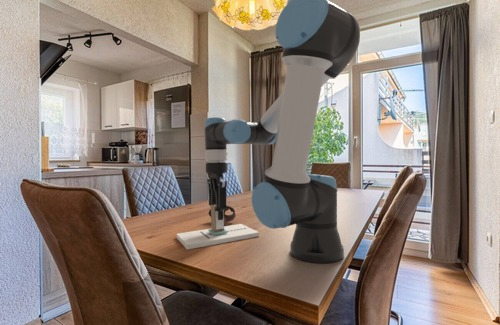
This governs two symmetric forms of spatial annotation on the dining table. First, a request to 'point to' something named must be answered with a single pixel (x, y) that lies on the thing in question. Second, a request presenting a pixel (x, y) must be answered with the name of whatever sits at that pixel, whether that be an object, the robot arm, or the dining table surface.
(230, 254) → the dining table surface
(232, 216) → the dark brown looped ring
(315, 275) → the dining table surface
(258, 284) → the dining table surface
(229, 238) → the board
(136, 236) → the dining table surface
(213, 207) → the stub
